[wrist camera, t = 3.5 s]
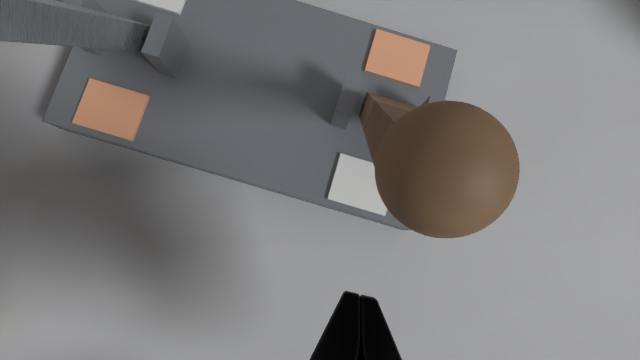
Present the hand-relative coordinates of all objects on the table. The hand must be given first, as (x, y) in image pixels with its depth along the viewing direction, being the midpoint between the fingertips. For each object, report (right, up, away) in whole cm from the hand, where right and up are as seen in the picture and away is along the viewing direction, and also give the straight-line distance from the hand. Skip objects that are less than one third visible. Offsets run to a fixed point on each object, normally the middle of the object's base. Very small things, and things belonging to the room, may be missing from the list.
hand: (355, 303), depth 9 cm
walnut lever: (+2, +6, +8) cm, 11 cm away
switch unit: (-4, +8, +11) cm, 14 cm away
